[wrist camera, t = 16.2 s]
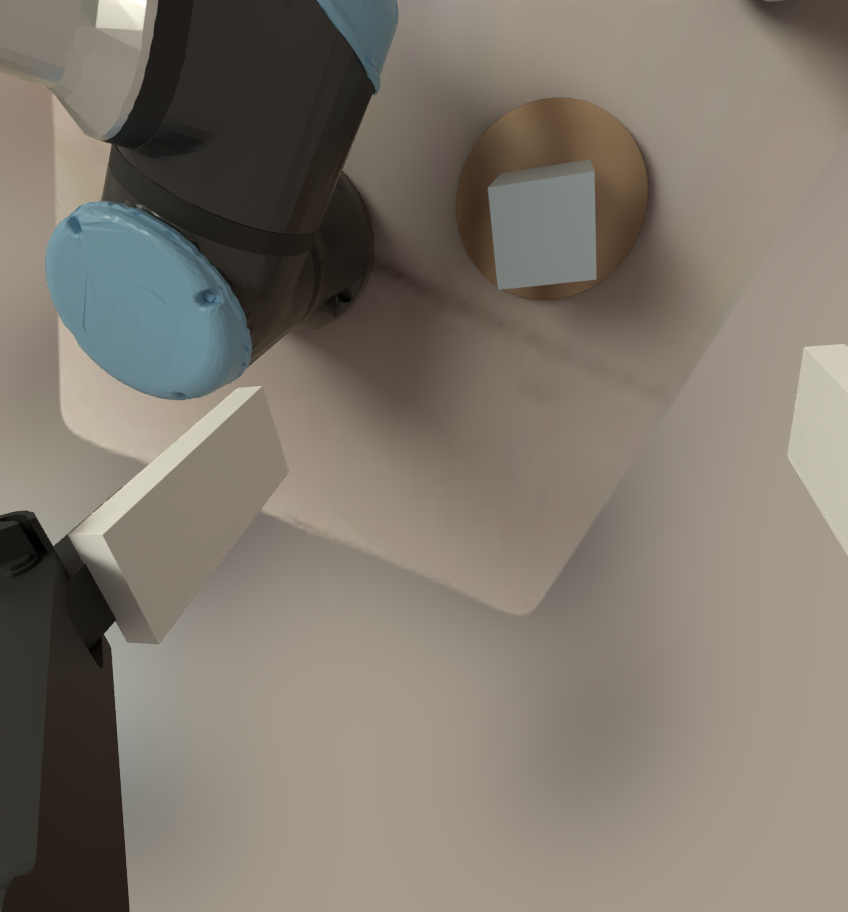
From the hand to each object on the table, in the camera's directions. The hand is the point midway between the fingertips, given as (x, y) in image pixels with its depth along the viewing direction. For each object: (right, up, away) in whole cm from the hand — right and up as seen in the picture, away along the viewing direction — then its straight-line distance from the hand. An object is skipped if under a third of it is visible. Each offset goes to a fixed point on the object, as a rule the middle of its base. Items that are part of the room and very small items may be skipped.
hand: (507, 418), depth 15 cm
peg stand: (+8, +18, +31) cm, 37 cm away
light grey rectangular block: (+7, +16, +27) cm, 32 cm away
